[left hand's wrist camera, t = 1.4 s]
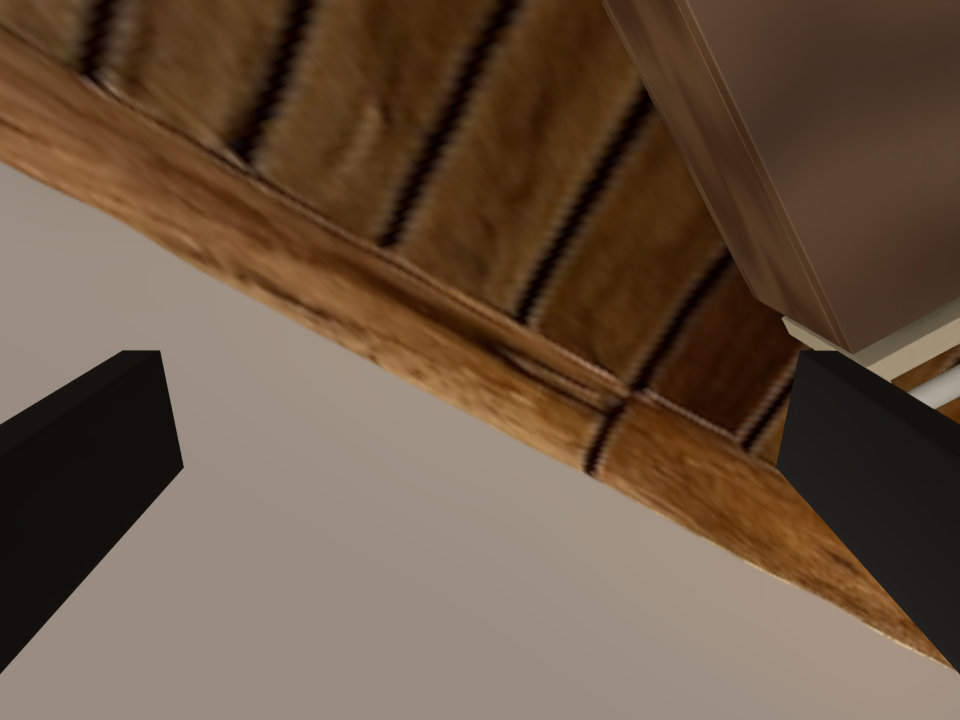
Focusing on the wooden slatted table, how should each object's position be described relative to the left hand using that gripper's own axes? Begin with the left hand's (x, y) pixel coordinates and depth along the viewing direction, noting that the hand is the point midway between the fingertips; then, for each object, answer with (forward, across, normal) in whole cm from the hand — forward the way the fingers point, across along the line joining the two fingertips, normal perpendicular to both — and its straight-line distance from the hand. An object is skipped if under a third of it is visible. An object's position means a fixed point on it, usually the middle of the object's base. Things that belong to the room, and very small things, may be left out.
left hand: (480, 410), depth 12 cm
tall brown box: (+22, +16, +7) cm, 28 cm away
